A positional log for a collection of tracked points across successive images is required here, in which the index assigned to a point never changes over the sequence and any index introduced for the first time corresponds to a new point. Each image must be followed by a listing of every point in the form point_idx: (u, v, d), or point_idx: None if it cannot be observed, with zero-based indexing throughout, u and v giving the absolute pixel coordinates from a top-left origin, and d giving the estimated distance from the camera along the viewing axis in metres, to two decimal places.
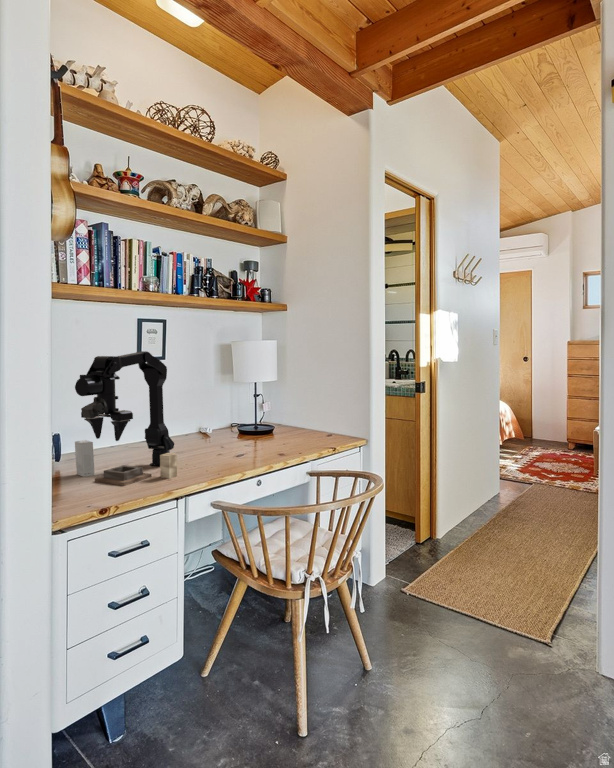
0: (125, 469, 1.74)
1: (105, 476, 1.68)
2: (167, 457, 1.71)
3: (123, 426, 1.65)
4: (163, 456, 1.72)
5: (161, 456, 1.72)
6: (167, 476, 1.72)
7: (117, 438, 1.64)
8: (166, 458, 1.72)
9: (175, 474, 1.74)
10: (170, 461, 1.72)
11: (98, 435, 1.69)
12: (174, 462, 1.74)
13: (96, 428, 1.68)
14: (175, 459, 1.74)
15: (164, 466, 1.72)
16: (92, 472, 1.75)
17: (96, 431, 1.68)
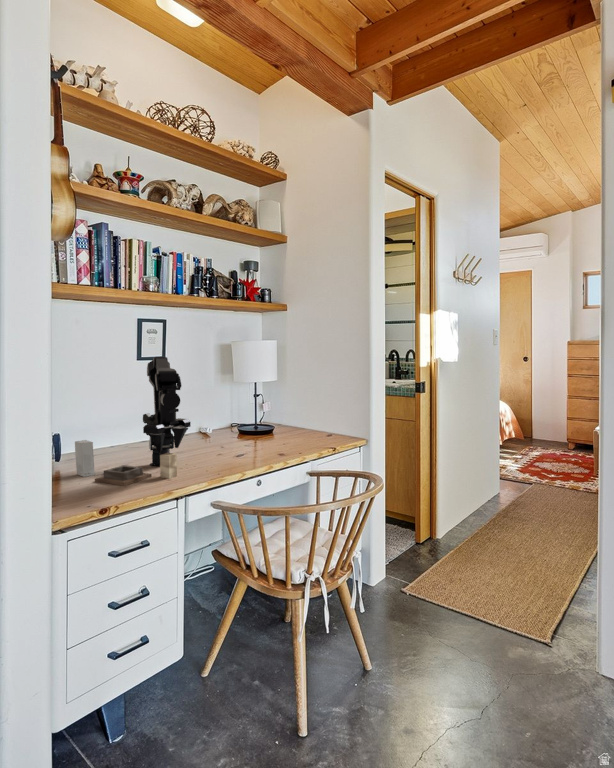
0: (125, 469, 1.74)
1: (105, 476, 1.68)
2: (167, 457, 1.71)
3: (159, 440, 1.67)
4: (163, 456, 1.72)
5: (161, 456, 1.72)
6: (167, 476, 1.72)
7: (158, 450, 1.69)
8: (166, 458, 1.72)
9: (175, 474, 1.74)
10: (170, 461, 1.72)
11: (176, 445, 1.78)
12: (174, 462, 1.74)
13: (176, 438, 1.78)
14: (175, 459, 1.74)
15: (164, 466, 1.72)
16: (92, 472, 1.75)
17: (175, 440, 1.78)
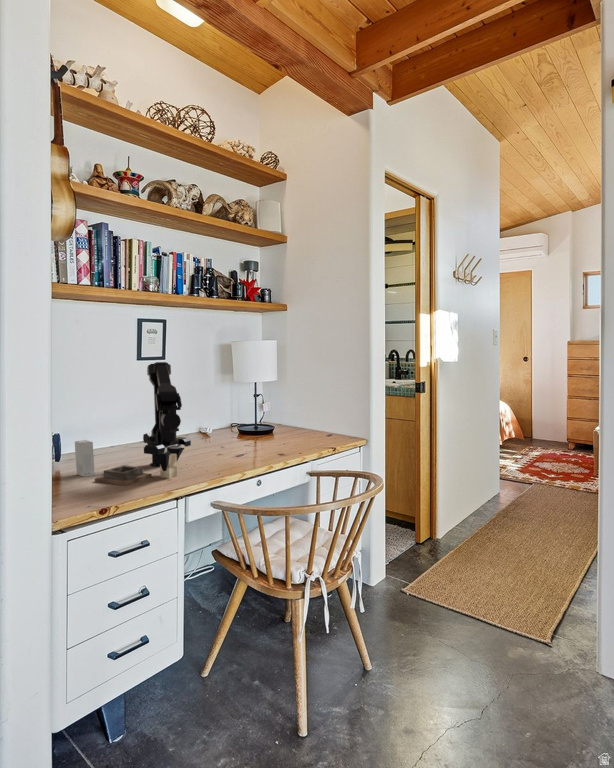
0: (125, 469, 1.74)
1: (105, 476, 1.68)
2: None
3: (164, 458, 1.70)
4: None
5: None
6: (167, 476, 1.72)
7: (163, 468, 1.72)
8: None
9: (175, 474, 1.74)
10: (170, 461, 1.72)
11: None
12: (174, 462, 1.74)
13: None
14: (175, 459, 1.74)
15: None
16: (92, 472, 1.75)
17: None
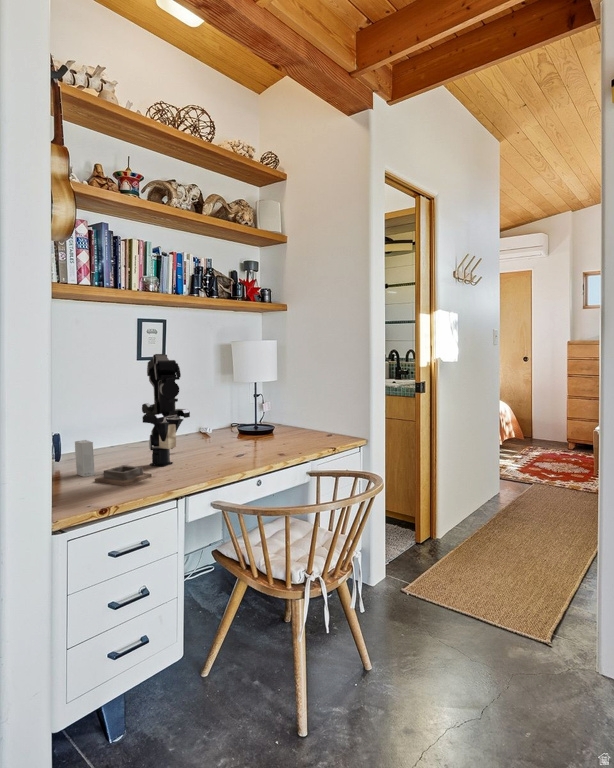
0: (125, 469, 1.74)
1: (105, 476, 1.68)
2: None
3: (163, 428, 1.69)
4: None
5: None
6: (166, 446, 1.71)
7: (162, 438, 1.71)
8: None
9: (174, 445, 1.74)
10: (169, 432, 1.71)
11: None
12: (173, 433, 1.73)
13: None
14: (174, 430, 1.73)
15: None
16: (92, 472, 1.75)
17: None
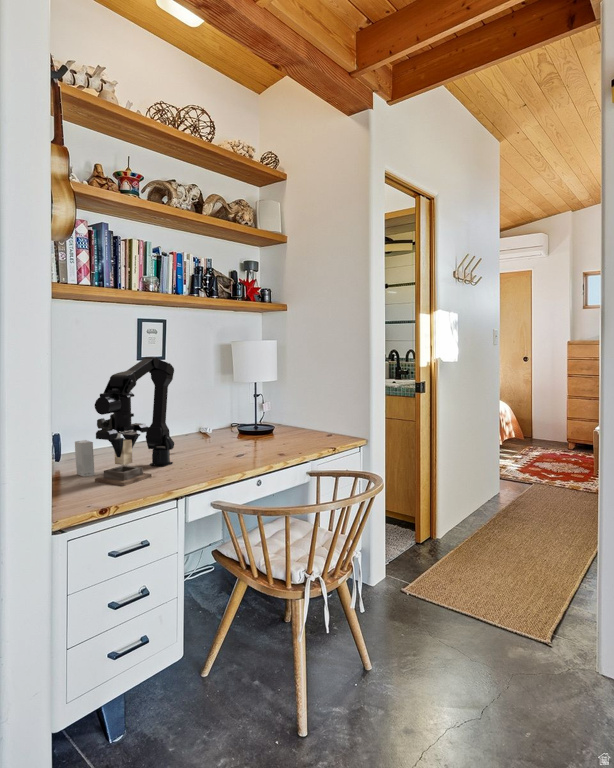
0: (125, 469, 1.74)
1: (105, 476, 1.68)
2: None
3: (118, 444, 1.66)
4: None
5: None
6: (121, 462, 1.68)
7: (117, 454, 1.68)
8: None
9: (130, 460, 1.71)
10: (125, 447, 1.68)
11: None
12: (128, 448, 1.70)
13: None
14: (130, 445, 1.70)
15: None
16: (92, 472, 1.75)
17: None
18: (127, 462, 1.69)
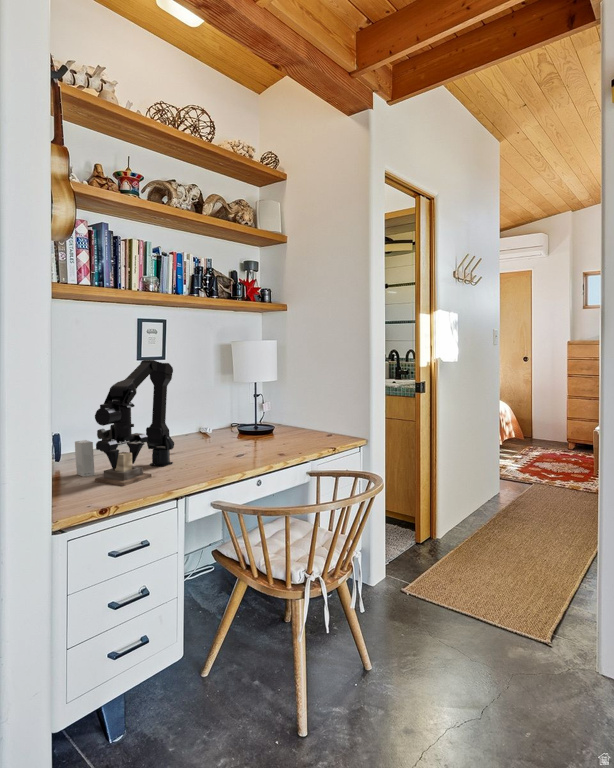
0: None
1: (105, 476, 1.68)
2: (121, 456, 1.68)
3: (113, 456, 1.64)
4: None
5: None
6: None
7: (112, 466, 1.66)
8: (120, 457, 1.68)
9: None
10: (125, 461, 1.68)
11: None
12: (129, 461, 1.70)
13: None
14: (130, 458, 1.71)
15: (118, 465, 1.69)
16: (92, 472, 1.75)
17: None
18: None
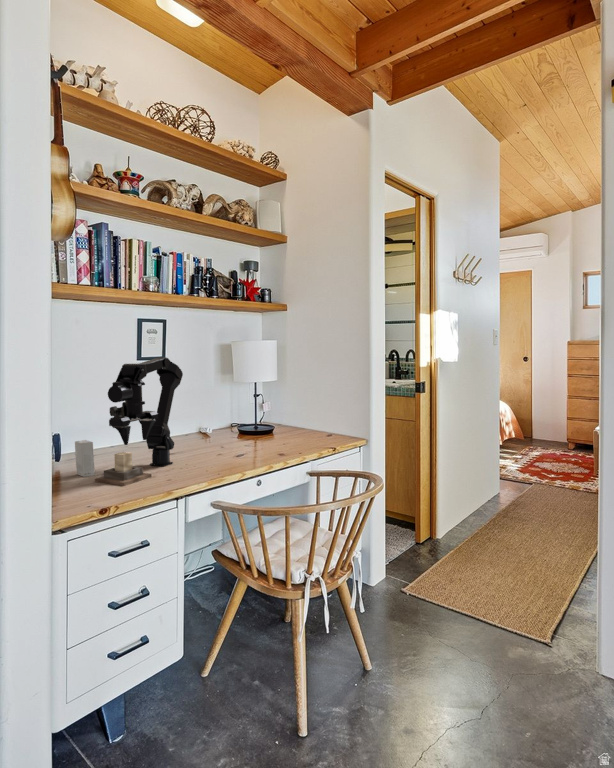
0: None
1: (105, 476, 1.68)
2: (121, 456, 1.68)
3: (125, 432, 1.70)
4: (117, 455, 1.69)
5: (115, 455, 1.69)
6: None
7: (124, 442, 1.72)
8: (120, 457, 1.68)
9: None
10: (125, 461, 1.68)
11: (144, 437, 1.81)
12: (129, 461, 1.70)
13: (143, 430, 1.81)
14: (130, 458, 1.71)
15: (118, 465, 1.69)
16: (92, 472, 1.75)
17: (142, 432, 1.81)
18: None
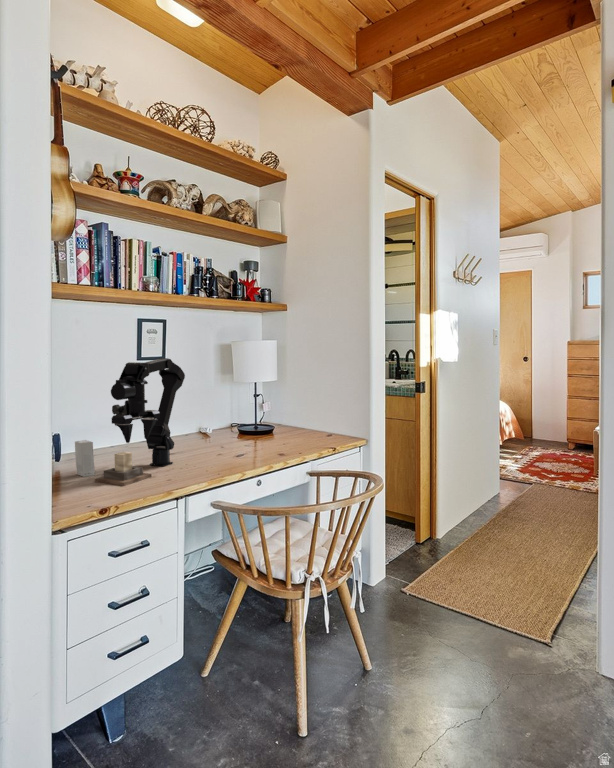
0: None
1: (105, 476, 1.68)
2: (121, 456, 1.68)
3: (127, 430, 1.71)
4: (117, 455, 1.69)
5: (115, 455, 1.69)
6: None
7: (126, 440, 1.73)
8: (120, 457, 1.68)
9: None
10: (125, 461, 1.68)
11: (145, 435, 1.82)
12: (129, 461, 1.70)
13: (145, 429, 1.82)
14: (130, 458, 1.71)
15: (118, 465, 1.69)
16: (92, 472, 1.75)
17: (144, 431, 1.82)
18: None
